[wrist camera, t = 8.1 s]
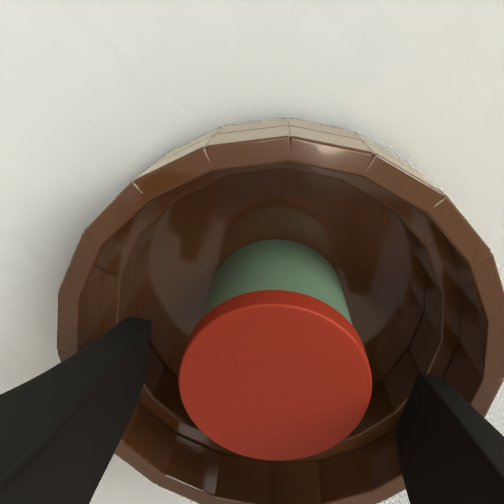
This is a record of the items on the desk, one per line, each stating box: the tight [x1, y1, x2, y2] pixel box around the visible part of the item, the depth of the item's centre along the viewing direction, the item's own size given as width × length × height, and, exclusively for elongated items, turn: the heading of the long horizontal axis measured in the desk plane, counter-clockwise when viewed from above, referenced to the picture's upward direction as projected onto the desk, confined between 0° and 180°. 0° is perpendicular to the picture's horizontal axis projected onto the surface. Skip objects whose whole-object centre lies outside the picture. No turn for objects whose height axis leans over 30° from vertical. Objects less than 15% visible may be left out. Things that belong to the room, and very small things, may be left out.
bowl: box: [57, 118, 504, 504], centre depth 14 cm, size 12×12×4 cm
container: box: [178, 239, 372, 461], centre depth 13 cm, size 5×5×5 cm
